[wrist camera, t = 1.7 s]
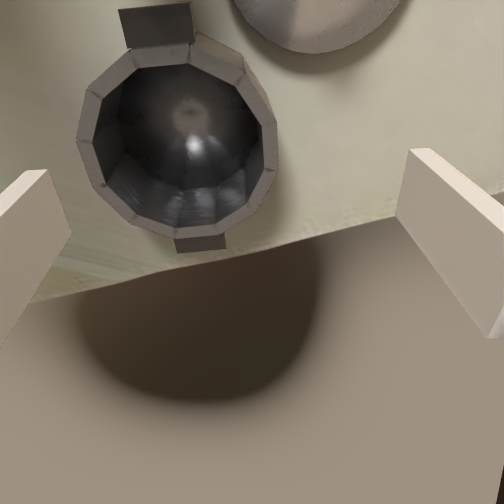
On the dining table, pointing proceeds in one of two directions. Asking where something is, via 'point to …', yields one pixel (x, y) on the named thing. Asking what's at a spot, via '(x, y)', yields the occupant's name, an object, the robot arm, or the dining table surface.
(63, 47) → the dining table surface
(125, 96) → the pot
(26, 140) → the dining table surface
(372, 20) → the lid
